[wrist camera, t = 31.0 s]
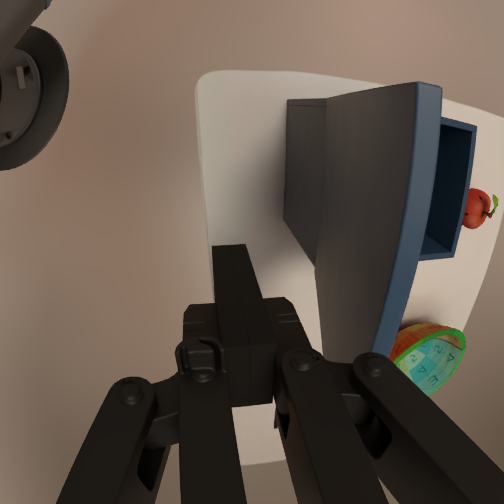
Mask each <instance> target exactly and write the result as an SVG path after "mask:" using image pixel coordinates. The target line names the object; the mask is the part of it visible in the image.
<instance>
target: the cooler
mask: <svg viewBox="0 0 504 504" xmlns="http://www.w3.org/2000/svg"><path fill="white" fill-rule="evenodd" d="M326 112H327V98H318V99H289V100H287V130H286V165H285V193H284V217H283V221H284V222H285V224H286V225H287V227H288V228H289V229H290V231H291V232H292V234H293V235H294V237H295V238H296V240H297V241H298V243H299V244H300V246H301V247H302V249H303V250H304V252H305V253H306V255H307V256H308V258H309V259H310V261H311V262H312V264H313V265H314V267H315V264H316V254H317V244H318V234H319V223H320V212H321V200H322V186H323V172H324V155H325V136H326ZM476 132H477V126H475V125H471V124H468V123H464V122H460V121H457V120H453V119H449V118H445V117H441V125H440V137H439V147H438V156H437V164H436V172H435V179H434V186H433V192H432V198H431V204H430V209H429V215H428V220H427V225H426V230H425V235H424V239H423V244H422V248H421V252H420V257H419V261H424V260H434V259H443V258H452V257H454V254H455V250H456V246H457V242H458V238H459V234H460V230H461V226H462V221H463V217H464V212H465V207H466V202H467V197H468V192H469V186H470V180H471V173H472V167H473V159H474V151H475V142H476Z"/></svg>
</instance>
